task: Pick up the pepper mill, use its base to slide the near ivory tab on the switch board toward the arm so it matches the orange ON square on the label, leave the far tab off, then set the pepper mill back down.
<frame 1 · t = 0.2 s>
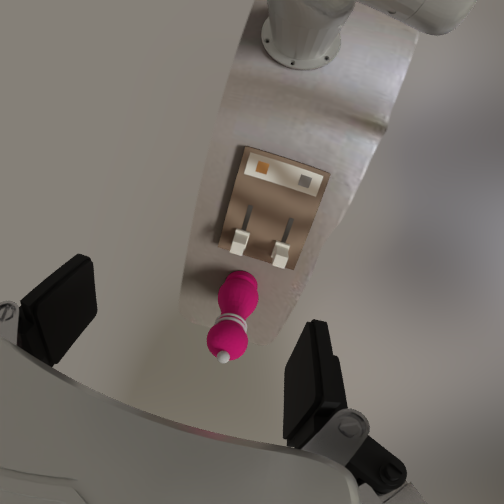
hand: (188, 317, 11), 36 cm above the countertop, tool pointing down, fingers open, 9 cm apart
pepper mill: (241, 284, 53), on the countertop
switch board: (271, 209, 46), on the countertop
tab 1: (239, 243, 45), point 4 cm above the countertop, slide at 0.0 cm
tab 2: (280, 255, 45), point 4 cm above the countertop, slide at 0.0 cm
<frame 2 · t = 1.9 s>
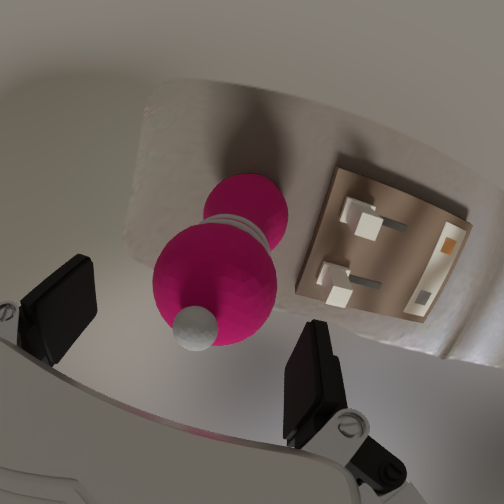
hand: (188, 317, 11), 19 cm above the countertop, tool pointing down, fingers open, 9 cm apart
pepper mill: (251, 203, 28), on the countertop
switch board: (388, 253, 28), on the countertop
tab 1: (362, 219, 23), point 4 cm above the countertop, slide at 0.0 cm
tab 2: (335, 285, 26), point 4 cm above the countertop, slide at 0.0 cm
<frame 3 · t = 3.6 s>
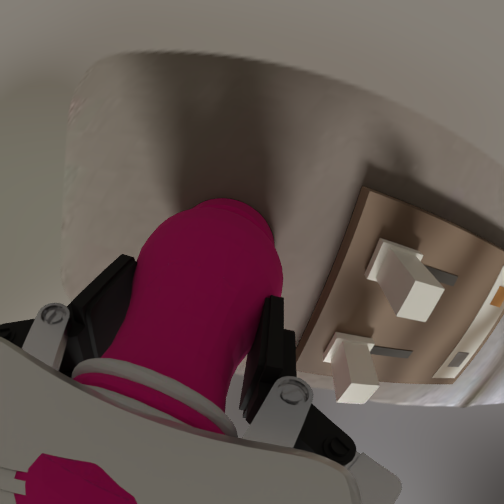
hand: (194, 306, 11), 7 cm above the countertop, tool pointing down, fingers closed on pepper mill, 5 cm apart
pepper mill: (225, 244, 18), on the countertop, touching gripper
switch board: (425, 309, 18), on the countertop
tab 1: (405, 280, 13), point 4 cm above the countertop, slide at 0.0 cm
tab 2: (352, 369, 16), point 4 cm above the countertop, slide at 0.0 cm
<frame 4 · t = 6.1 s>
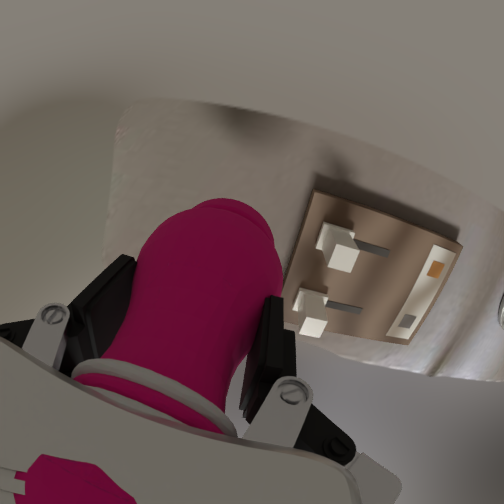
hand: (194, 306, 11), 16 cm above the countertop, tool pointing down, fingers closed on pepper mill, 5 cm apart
pepper mill: (225, 244, 18), point 9 cm above the countertop, touching gripper
switch board: (371, 277, 27), on the countertop
tab 1: (338, 247, 22), point 4 cm above the countertop, slide at 0.0 cm
tab 2: (311, 313, 25), point 4 cm above the countertop, slide at 0.0 cm
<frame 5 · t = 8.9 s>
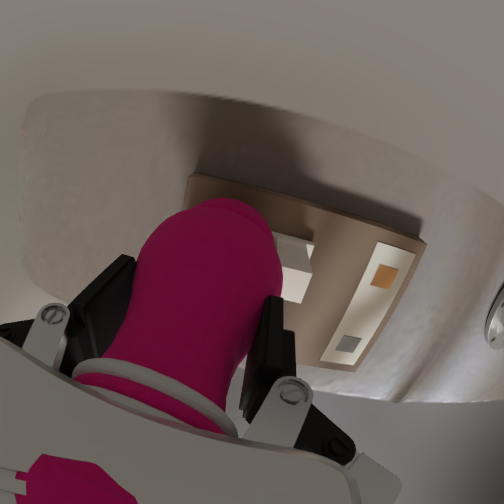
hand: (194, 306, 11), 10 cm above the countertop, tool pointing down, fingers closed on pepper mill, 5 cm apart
pepper mill: (225, 244, 18), point 3 cm above the countertop, touching gripper
switch board: (290, 286, 22), on the countertop
tab 1: (288, 266, 17), point 4 cm above the countertop, slide at 4.6 cm
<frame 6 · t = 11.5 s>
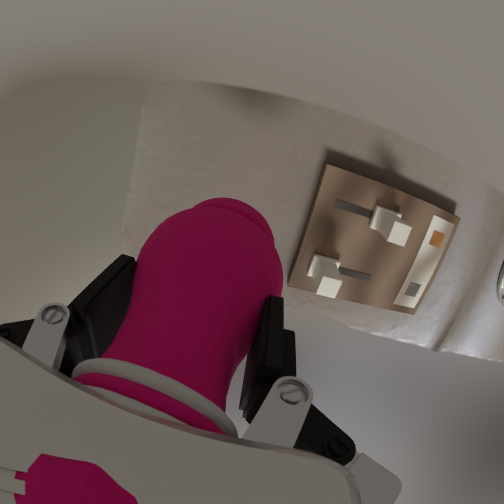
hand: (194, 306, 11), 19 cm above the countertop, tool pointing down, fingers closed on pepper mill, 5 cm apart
pepper mill: (225, 244, 18), point 12 cm above the countertop, touching gripper
switch board: (377, 246, 29), on the countertop
tab 1: (391, 226, 24), point 4 cm above the countertop, slide at 4.7 cm
tab 2: (326, 276, 27), point 4 cm above the countertop, slide at 0.0 cm
when the fingers open (8 cm above the countertop, at t = 13.9 s): pepper mill drops 1 cm, on the countertop.
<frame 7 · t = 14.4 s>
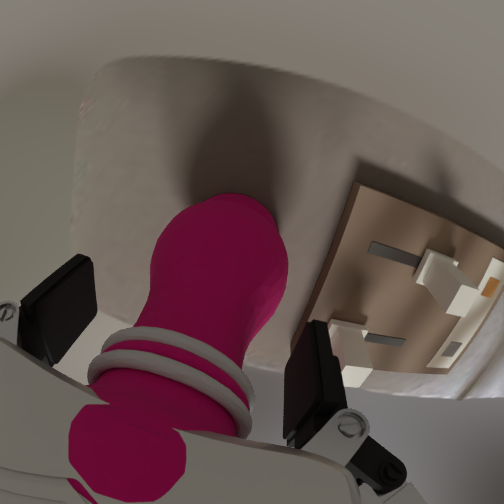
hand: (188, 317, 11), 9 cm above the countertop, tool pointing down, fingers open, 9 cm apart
pepper mill: (232, 236, 19), on the countertop
switch board: (417, 299, 19), on the countertop
tab 1: (448, 283, 14), point 4 cm above the countertop, slide at 4.7 cm
tab 2: (347, 354, 17), point 4 cm above the countertop, slide at 0.0 cm
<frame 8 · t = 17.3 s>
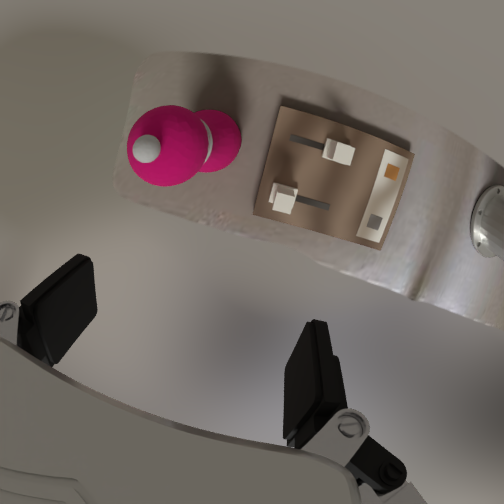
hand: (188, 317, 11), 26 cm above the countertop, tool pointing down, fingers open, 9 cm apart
pepper mill: (217, 139, 32), on the countertop
switch board: (335, 179, 33), on the countertop
tab 1: (339, 152, 28), point 4 cm above the countertop, slide at 4.7 cm
tab 2: (283, 198, 31), point 4 cm above the countertop, slide at 0.0 cm
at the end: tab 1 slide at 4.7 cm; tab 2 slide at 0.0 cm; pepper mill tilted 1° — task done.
